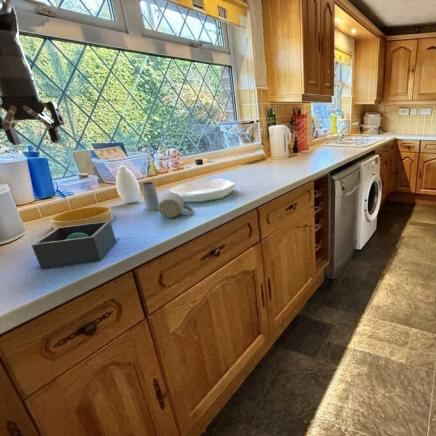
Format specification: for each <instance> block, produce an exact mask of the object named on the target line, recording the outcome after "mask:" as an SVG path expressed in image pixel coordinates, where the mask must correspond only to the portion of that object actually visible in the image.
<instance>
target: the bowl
mask: <svg viewBox="0 0 436 436" xmlns="http://www.w3.org/2000/svg"><path fill="white" fill-rule="evenodd" d="M49 221H50V223H51V226H52V228H53V229H52V230H55V229H56V228H58V227H65V226H74V225H82V224H90V223H99V222H107V221H110V222H111V223H112V222H113V221H114V214H113V210H112V208H111V207H110V206H105V205H104V206H103V205H102V206H87V207H81V208H77V209H72V210H68V211H64V212H61V213H58V214H56V215H54V216H52V217H51V218H50V219H49Z"/></svg>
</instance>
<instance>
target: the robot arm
mask: <svg viewBox="0 0 436 436" xmlns="http://www.w3.org/2000/svg"><path fill="white" fill-rule="evenodd" d="M19 32H20V31H19V24H18V17H17V13H16V10H15V6H14V5H13V3H12V1H11V0H0V101H1V102H0V129H1V130H3V131H4V133H5V135H6V138H7V141H8V142H9V143H10V144H11V145H12V146H19V145H21V140H20V138H19V135H18V132H17V130H16V129H15V128H16V126H17V125H18V123H20V121H34V120H35V121H38V122H40V123H42V124H43V125H44V126H46V127H47V132H48V135H49V139H50V141H51V143H52V144H59V142H60V141H61V136H60V134H59V131H58V130H59V129H58V128H59V127H61V126H64V125H65V120H64V118H63V115H62V113H61V110H60V108H59V105H58V103H57V102H56V101H47V102H43V101H42V100H41V97H40V94H39V90H38V87H37V83H36V82H35V81H36V80H35V78H34V73H33V72H32V69H31V67H30V64H29V63H28V61H27V59H26V55H25V53H24V50H23V47H22V44H21V41H20V38H19V37H20V36H19ZM45 109H46V111H48V112H50V116H51V118H52V119H51V118H50V116H48V115H47V114H45V113H44V110H45ZM3 110H4V111H5V112H6V116H5V118H4V117H3V114H2V112H3ZM3 118H4V119H3Z"/></svg>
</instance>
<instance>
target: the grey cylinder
mask: <svg viewBox="0 0 436 436" xmlns="http://www.w3.org/2000/svg"><path fill="white" fill-rule="evenodd" d="M140 189H141V191H142V196H143V201H144V205H145V208H146V210H147V211H153V210H154V211H159V210H158V206H159V203H160V201H159V197H158V193H157V188H156V184H155V182H154V181H146V182H142V183H140Z"/></svg>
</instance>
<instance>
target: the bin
mask: <svg viewBox="0 0 436 436" xmlns="http://www.w3.org/2000/svg"><path fill="white" fill-rule="evenodd" d="M73 233H84V234H87V235H88V236H89V237H84V238H76V239H69V240H65V239H66V238H67V237H68V236H69V235H71V234H73ZM116 239H117V238H116V236H115V233H114V230H113V226H112V221H111V222H110V221H107V222H99V223H90V224H82V225H74V226H65V227H58V228H56V229H55V230H54V229H52V230H51V231H50V232H49V233H47V234H46V235H44V236H43V237H41V238H40V239H39V240H37V241H36V242H34V243H33V244H31V247H32V250H33V252H34V254H35V257H36V259H37V262H38V265H39V267H40V269H41V270H47V269H54V268H61V267H68V266H74V265H81V264H89V263H95V262H100V261H102V260H103V259H104V257H105V256H106V255H107V254H108V253H109V252H110V250H111V249H112V248H113V247H114V245H116V243H117V240H116Z"/></svg>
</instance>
